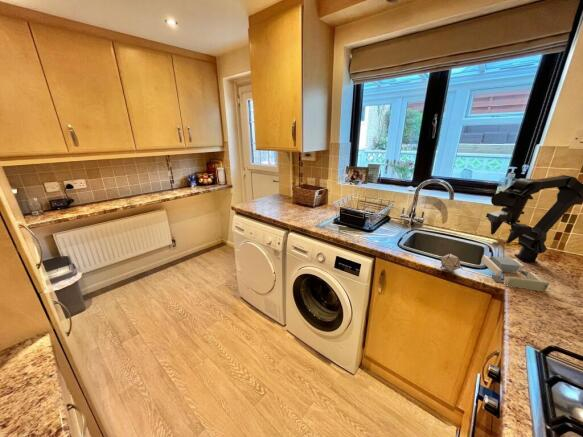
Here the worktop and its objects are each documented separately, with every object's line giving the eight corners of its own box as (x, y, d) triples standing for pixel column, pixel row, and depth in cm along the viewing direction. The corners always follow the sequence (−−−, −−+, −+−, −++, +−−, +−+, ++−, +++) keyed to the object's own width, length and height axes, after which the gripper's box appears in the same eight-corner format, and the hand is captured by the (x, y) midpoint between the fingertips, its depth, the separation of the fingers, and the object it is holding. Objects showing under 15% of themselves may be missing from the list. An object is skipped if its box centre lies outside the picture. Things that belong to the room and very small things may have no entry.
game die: (442, 274, 110) (441, 252, 112) (464, 275, 104) (463, 253, 107) (437, 272, 104) (436, 249, 106) (461, 273, 98) (459, 249, 100)
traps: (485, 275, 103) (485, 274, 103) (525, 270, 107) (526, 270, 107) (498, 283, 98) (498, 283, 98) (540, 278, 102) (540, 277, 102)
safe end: (504, 284, 98) (508, 276, 96) (542, 289, 95) (546, 281, 94) (506, 286, 97) (510, 278, 95) (544, 291, 94) (549, 283, 92)
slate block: (489, 263, 113) (492, 255, 112) (506, 264, 112) (509, 257, 110) (498, 271, 107) (501, 263, 105) (515, 273, 106) (519, 265, 104)
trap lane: (481, 260, 115) (483, 255, 114) (512, 264, 112) (515, 258, 111) (506, 286, 97) (509, 280, 95) (544, 291, 94) (548, 285, 93)
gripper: (481, 199, 113) (469, 228, 119) (515, 212, 96) (498, 246, 102) (504, 201, 114) (490, 231, 119) (541, 215, 96) (523, 249, 102)
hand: (499, 238), depth 111 cm, fingers open, 9 cm apart
